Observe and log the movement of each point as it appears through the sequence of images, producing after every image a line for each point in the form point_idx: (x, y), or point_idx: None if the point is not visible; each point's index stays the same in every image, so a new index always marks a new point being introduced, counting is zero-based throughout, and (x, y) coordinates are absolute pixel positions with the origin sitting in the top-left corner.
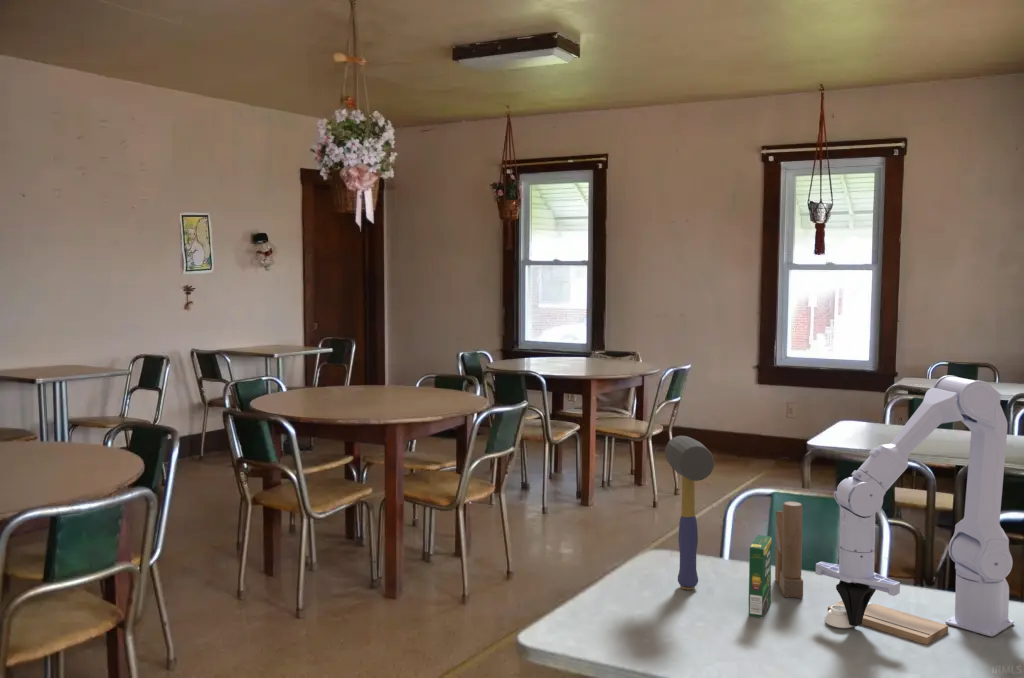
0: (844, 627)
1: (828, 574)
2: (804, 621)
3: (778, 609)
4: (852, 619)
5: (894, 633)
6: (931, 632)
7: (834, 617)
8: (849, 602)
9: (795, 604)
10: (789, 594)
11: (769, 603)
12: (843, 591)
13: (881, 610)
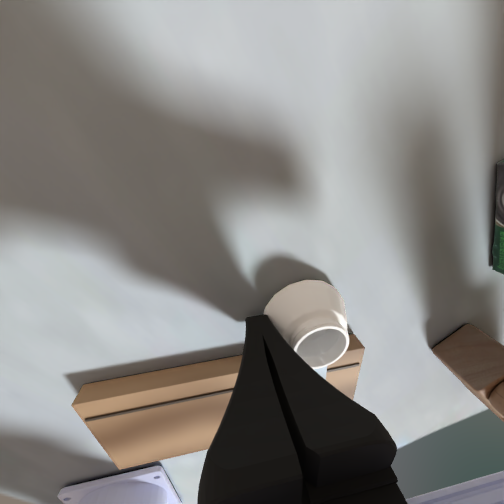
0: (273, 297)
1: (489, 495)
2: (380, 250)
3: (464, 258)
4: (257, 328)
5: (174, 370)
6: (99, 429)
7: (311, 303)
8: (280, 379)
9: (434, 314)
10: (464, 335)
11: (502, 255)
12: (327, 424)
13: None
